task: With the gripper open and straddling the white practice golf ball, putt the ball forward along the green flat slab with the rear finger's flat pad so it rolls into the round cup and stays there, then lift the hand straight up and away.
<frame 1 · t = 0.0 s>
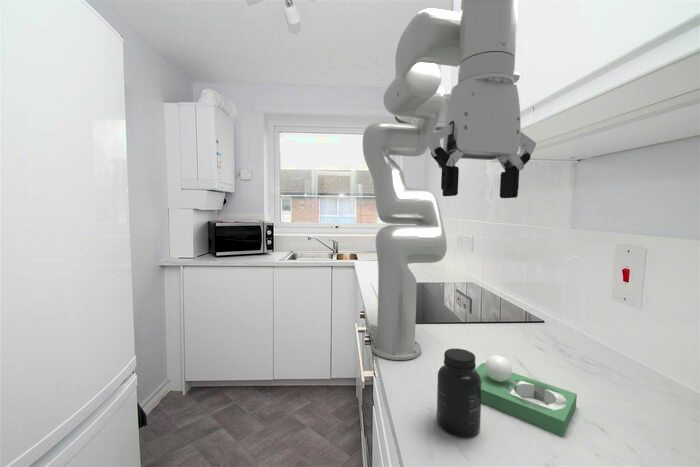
hand: (479, 196, 48), 37 cm above the worktop, tool pointing down, fingers open, 9 cm apart
ball: (498, 368, 63), point 5 cm above the worktop, touching green flat slab
green flat slab: (513, 399, 61), on the worktop
supplement bottle: (457, 425, 54), on the worktop
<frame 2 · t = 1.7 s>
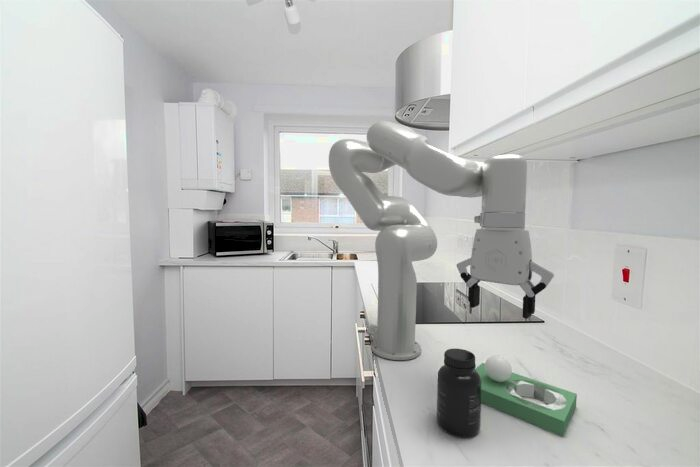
hand: (499, 311, 63), 16 cm above the worktop, tool pointing down, fingers open, 9 cm apart
nothing on the worktop moved.
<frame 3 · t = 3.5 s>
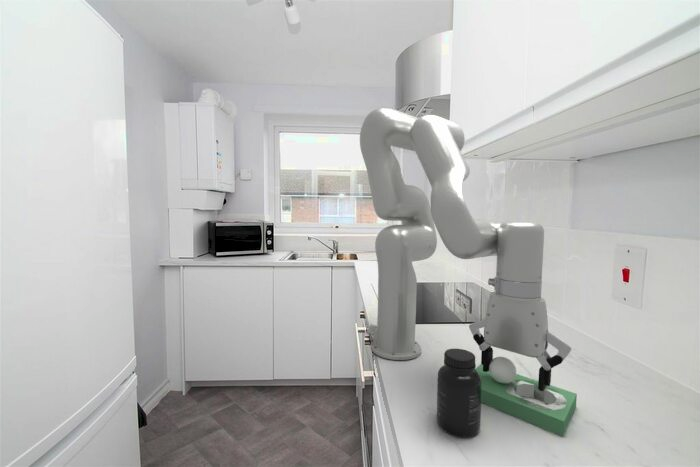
hand: (513, 378, 61), 4 cm above the worktop, tool pointing down, fingers open, 9 cm apart
ball: (502, 369, 63), point 5 cm above the worktop, tilted 17°, touching green flat slab
everything else where it was.
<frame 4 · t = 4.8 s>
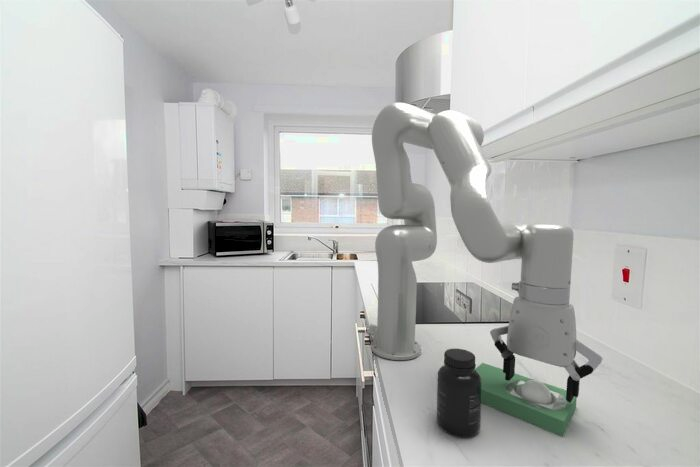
hand: (538, 387, 58), 4 cm above the worktop, tool pointing down, fingers open, 9 cm apart
ball: (535, 394, 59), point 2 cm above the worktop, tilted 178°
everything else where it was.
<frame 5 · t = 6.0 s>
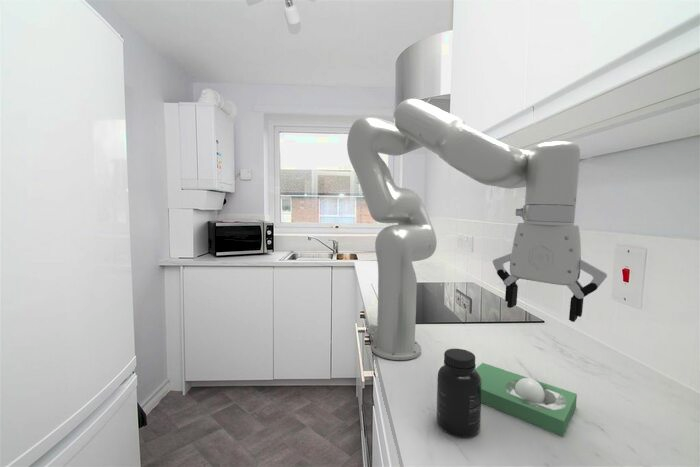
hand: (540, 312, 58), 17 cm above the worktop, tool pointing down, fingers open, 9 cm apart
ball: (529, 392, 59), point 2 cm above the worktop, tilted 156°
everything else where it was.
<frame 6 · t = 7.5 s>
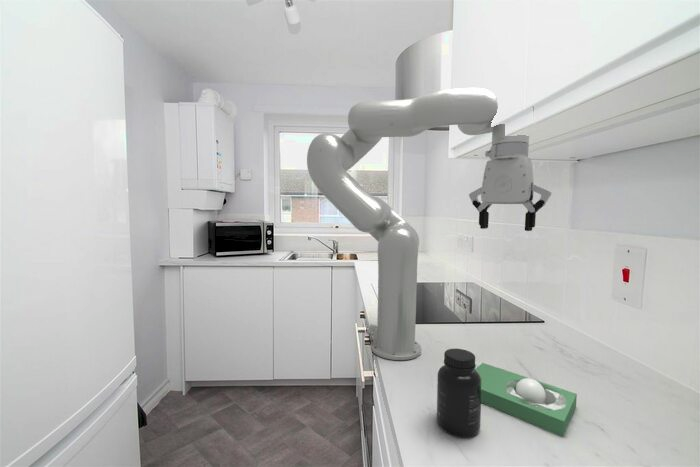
hand: (505, 229, 75), 31 cm above the worktop, tool pointing down, fingers open, 9 cm apart
nothing on the worktop moved.
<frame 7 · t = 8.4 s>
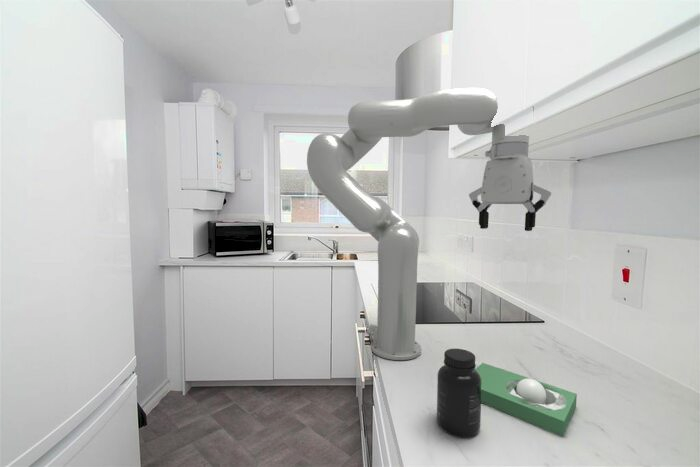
hand: (505, 229, 75), 31 cm above the worktop, tool pointing down, fingers open, 9 cm apart
nothing on the worktop moved.
at the end: ball 0.6 cm from the target spot in the green flat slab, point 2.4 cm above the green flat slab's base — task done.
